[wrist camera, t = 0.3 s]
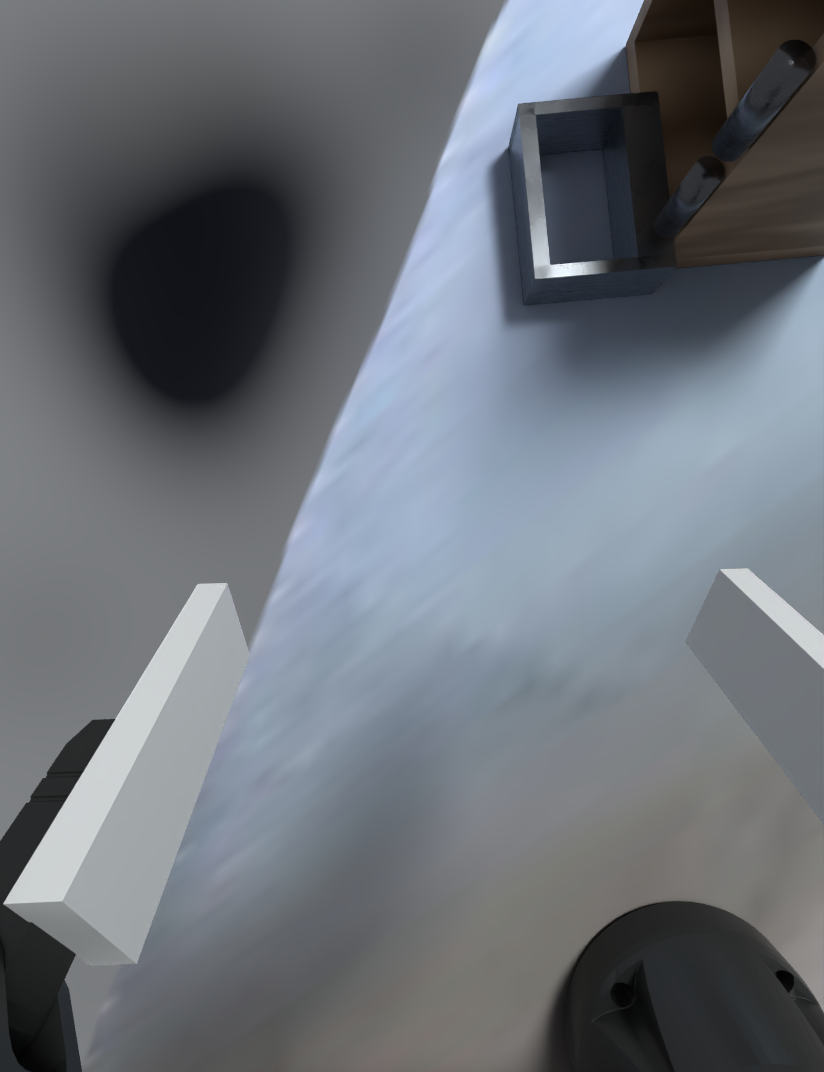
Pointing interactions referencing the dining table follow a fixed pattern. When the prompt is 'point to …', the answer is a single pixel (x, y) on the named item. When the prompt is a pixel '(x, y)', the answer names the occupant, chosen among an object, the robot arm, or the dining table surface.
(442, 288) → the dining table surface
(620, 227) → the grey drawer
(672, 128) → the wood-grain box
